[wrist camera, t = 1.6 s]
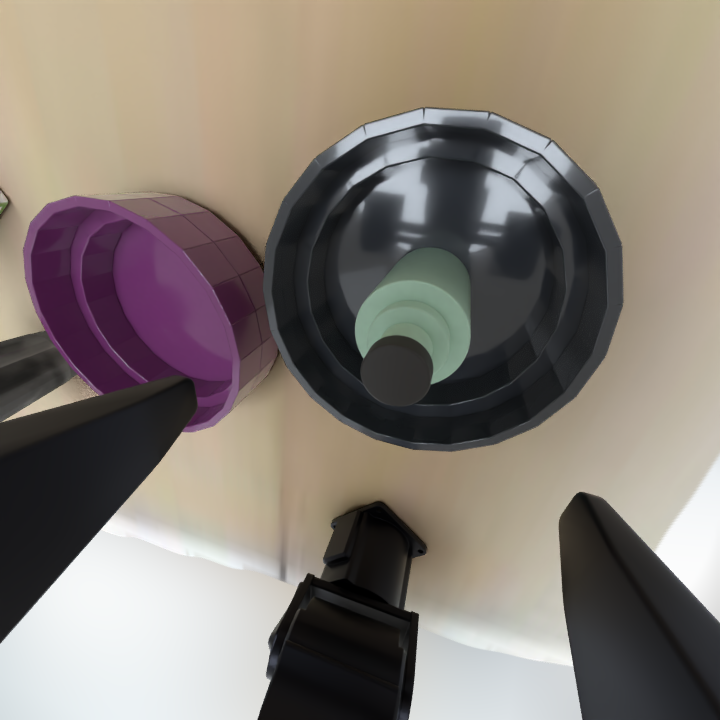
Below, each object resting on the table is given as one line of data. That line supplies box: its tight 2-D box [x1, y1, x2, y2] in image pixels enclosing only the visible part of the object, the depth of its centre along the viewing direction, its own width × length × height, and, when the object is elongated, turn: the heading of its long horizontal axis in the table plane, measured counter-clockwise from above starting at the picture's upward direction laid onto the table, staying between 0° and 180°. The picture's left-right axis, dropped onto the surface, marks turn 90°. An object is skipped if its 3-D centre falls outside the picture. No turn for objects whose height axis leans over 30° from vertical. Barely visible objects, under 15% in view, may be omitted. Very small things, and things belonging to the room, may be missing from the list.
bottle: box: [355, 247, 471, 406], centre depth 14 cm, size 4×4×10 cm
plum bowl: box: [23, 192, 278, 432], centre depth 22 cm, size 15×15×5 cm
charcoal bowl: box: [263, 107, 624, 452], centre depth 16 cm, size 15×15×5 cm
